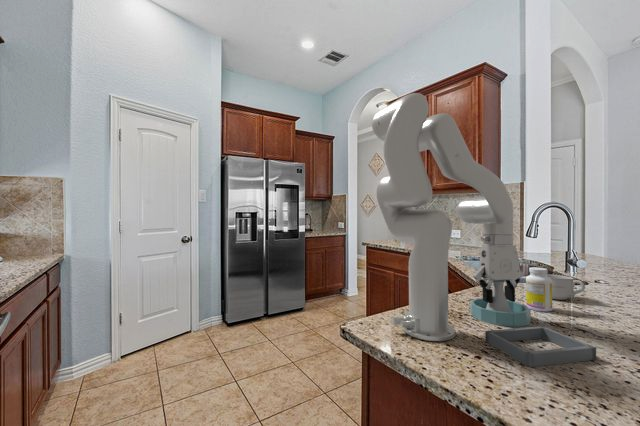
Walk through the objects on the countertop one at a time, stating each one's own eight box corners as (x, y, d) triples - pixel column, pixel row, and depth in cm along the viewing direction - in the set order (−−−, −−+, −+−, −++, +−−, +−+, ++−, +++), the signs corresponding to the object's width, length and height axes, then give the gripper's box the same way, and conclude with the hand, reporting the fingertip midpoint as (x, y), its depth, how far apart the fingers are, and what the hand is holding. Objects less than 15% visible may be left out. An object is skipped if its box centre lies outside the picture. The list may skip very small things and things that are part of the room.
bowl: (496, 328, 78) (495, 314, 78) (460, 310, 92) (460, 299, 92) (543, 324, 80) (542, 311, 80) (501, 307, 95) (501, 296, 95)
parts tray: (529, 367, 58) (529, 354, 58) (485, 341, 70) (485, 330, 70) (596, 359, 61) (596, 347, 61) (542, 336, 73) (542, 326, 73)
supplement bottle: (541, 305, 97) (540, 266, 97) (558, 312, 90) (557, 270, 90) (521, 305, 97) (520, 266, 97) (536, 312, 90) (536, 270, 90)
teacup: (528, 295, 109) (528, 273, 109) (550, 292, 113) (549, 271, 113) (570, 306, 96) (570, 281, 96) (593, 303, 99) (592, 279, 99)
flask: (518, 319, 82) (517, 283, 82) (489, 318, 83) (489, 282, 83) (506, 311, 89) (506, 278, 89) (480, 309, 90) (480, 277, 91)
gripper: (480, 242, 81) (481, 306, 81) (534, 240, 84) (535, 303, 84) (463, 239, 89) (463, 299, 89) (513, 238, 92) (513, 296, 92)
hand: (498, 300), depth 86 cm, fingers open, 6 cm apart
